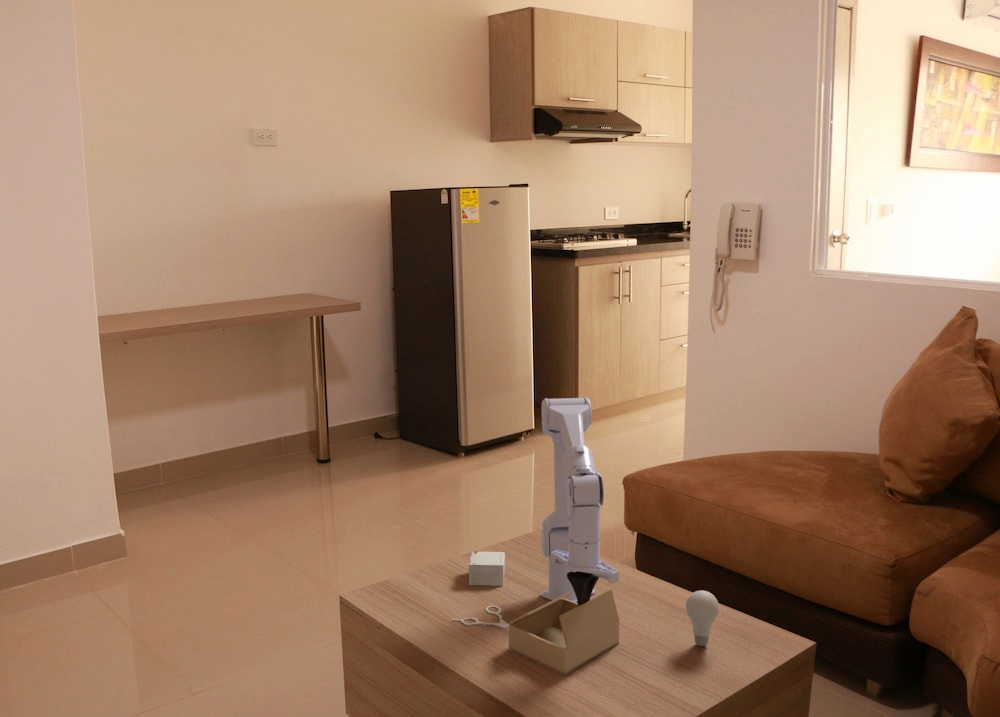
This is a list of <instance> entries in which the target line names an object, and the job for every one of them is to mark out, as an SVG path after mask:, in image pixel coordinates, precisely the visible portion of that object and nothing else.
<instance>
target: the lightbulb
mask: <svg viewBox="0 0 1000 717" xmlns="http://www.w3.org/2000/svg"><path fill="white" fill-rule="evenodd" d="M719 604H720V603H719V602H718V600H717V598H716V597H715V595H714V594H712V593H711V592H709V591H707V590H701V589H700V590H696V591H694V592H692V593H691V594H690V595H689V596H688V598H687V600H686V603H685V610H686V613H687V616H688V617H689V619H690V620H691V623H692V629H693V630H692V631H693V634H694V643H695V644H696V645H697V646H699V647H702V648H703V647H704V646H707V645H708V644H709V637H710V634H711V628H712V625H713V623H714V622H715V620H716V619H717V616H718V615H719V611H720V605H719Z"/></svg>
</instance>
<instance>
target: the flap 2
mask: <svg viewBox="0 0 1000 717" xmlns="http://www.w3.org/2000/svg"><path fill="white" fill-rule="evenodd" d="M559 618H560V623H561V627H562V631H563V635H564V639H565V643H566V647H567V649H570V648H572V647H573V646H575V645H577V644H579V643H580V642H582V641H584V640H586V639H587V638H589V637H591V636H593V635H594V634H596V633H598V632H600V631H601V630H603V629H605V628H607V627H608V626H610V625H612V624H614V623H615V622H617V621H619V622H620V618H619V614H618V610H617V606H616V602H615V597H614V592H613V589H608V590H606V591H604V592H603V593H602V592H601V594H599V595H597V596H595V597H593V598H590V600H589V601H587V602H585V603H583V604H581V605H579V606H577V607H576V608H574V609H572V610H570V611H568V612H566V613H564V614H562V615H560V616H559Z"/></svg>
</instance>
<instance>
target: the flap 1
mask: <svg viewBox="0 0 1000 717" xmlns="http://www.w3.org/2000/svg"><path fill="white" fill-rule="evenodd" d="M572 593H574V590H573V591H571V592H569V593H567V594H565V595H562V596H560V597H558V598H556V599H554V600H551V601H549V602H547V603H545V604H542V605H540V606H539V607H537V608H535V609H534V608H533V610H530V611H528V612H526V613H525V614H522V615H520V616H519V617H516V618H515V619H513V620H510V621H509V625H510V624H512V623H514V622H516V621H518V620H520V619H522V618H525V617H527V616H529V615H531V614H533V613H535V612H537V611H539V610H541V609H543V608H545V607H547V606H549V605H551V604H553V603H555V602H557V601H559V600H561V599H563V598H565V597H567V596H568V595H570V594H572Z"/></svg>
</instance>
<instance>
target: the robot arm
mask: <svg viewBox="0 0 1000 717" xmlns="http://www.w3.org/2000/svg"><path fill="white" fill-rule="evenodd" d="M592 409H593V408H592V403H591V399H589V398H588V397H587V396H584V397H571V398H570V397H569V398H568V397H567V398H564V397H563V398H547V397H546V398H545V397H544V399H543V400H542V402H541V430H542V433H543V434H544V435H546V436H548V437H551V441H552V444H553V485H554V487H553V488H554V491H553V492H554V511H552V512H551V513H549V514H548V516H546V517H545V518H544V519H543V521H542V524H541V552H542V554H543V556H544V557H546V558H548V589H547V590H544V591H542V592H540V594H539V596H540V597H542V598H545V599H548V600H551V601H552V600H554V599H556V598H558V597H560V596H562V595H565V594H567V593H569V592H571V591H573V590H574V593H572V594H570V595H568V596H567V597H565V598H566V599H568V600H571V601H573V602H576V603H578V606H579V605H581V604H583V603H585V602H587V601H589V600H591V596H592V595H593V594H595V593H596V591H595V589H594V588H595V586H596V584H597V583H598V580H599V579H603V580H606V581H607V582H608V583H609V584H615V583H617V582H618V581H620V570H618V569H616V568H614V567H612V566H611V565H609V564H608V563H606V562H605V561H603V560H601V558H600V557H601V556H600V554H601V538H600V537H601V506H604V505H603V504H604V499H605V488H604V486H605V485H604V480H603V477H602V474H601V473H600V472H599V470H597V469H596V468H597V467H596V466H595V460H594V455H593V452H592V450H591V449H590V448H589V447H587V446H586V445H585V444H586V442H585V433H586V432H587V431H588V429H589V427H590V426H591V425H592V421H593V410H592Z"/></svg>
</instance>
